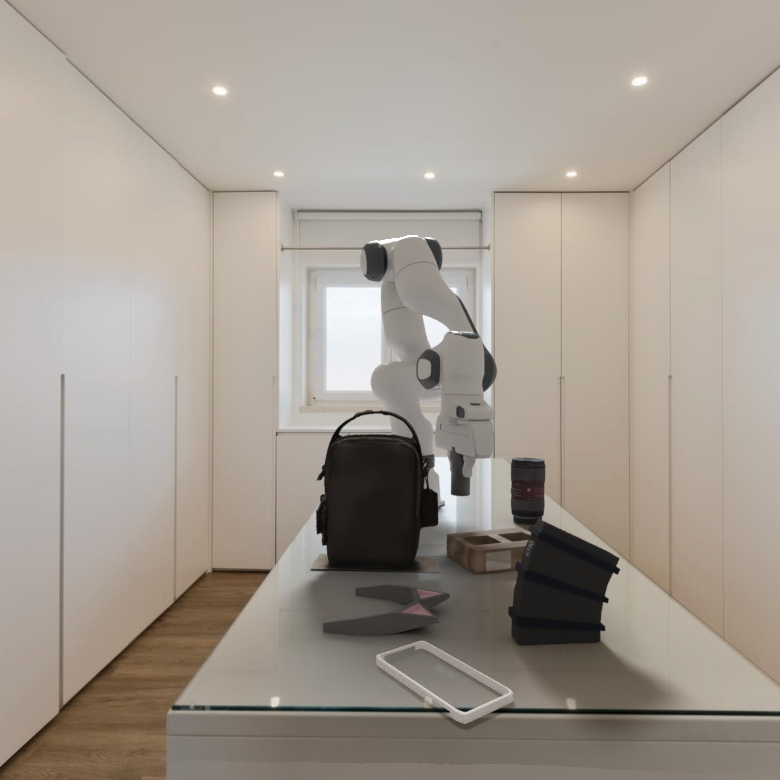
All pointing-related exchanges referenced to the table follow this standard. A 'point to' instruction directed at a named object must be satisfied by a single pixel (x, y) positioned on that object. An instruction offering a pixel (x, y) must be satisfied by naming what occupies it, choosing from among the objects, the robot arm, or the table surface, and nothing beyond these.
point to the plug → (458, 476)
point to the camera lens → (527, 490)
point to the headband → (395, 621)
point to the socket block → (488, 549)
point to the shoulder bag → (375, 502)
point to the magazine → (560, 588)
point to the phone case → (420, 690)
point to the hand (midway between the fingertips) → (460, 474)
